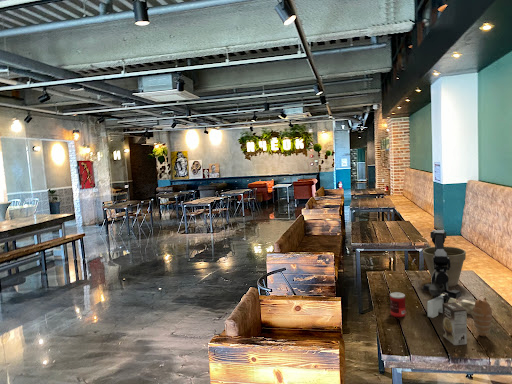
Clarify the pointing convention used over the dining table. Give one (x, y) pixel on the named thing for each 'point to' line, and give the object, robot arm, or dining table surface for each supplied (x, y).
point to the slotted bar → (435, 306)
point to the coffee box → (454, 323)
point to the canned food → (397, 304)
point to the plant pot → (456, 264)
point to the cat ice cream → (482, 316)
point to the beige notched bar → (464, 304)
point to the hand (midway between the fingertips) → (441, 306)
